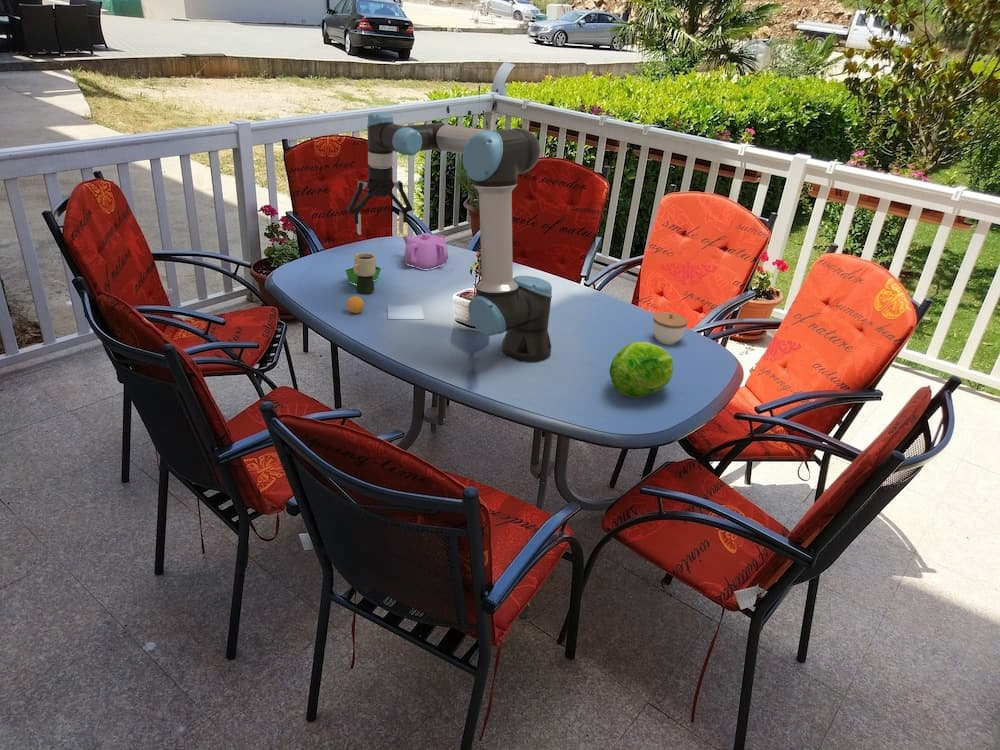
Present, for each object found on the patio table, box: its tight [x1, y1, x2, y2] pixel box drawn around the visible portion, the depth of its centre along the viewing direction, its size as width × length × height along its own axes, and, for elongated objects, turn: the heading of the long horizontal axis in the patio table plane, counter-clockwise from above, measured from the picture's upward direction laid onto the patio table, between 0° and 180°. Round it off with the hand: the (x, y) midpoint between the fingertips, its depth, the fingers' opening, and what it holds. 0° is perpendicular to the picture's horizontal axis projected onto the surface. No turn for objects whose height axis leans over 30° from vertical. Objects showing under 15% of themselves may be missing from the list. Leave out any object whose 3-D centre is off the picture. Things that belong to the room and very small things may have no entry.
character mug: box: [352, 252, 377, 294], centre depth 245 cm, size 11×7×13 cm, turn 147°
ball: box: [346, 295, 365, 314], centre depth 230 cm, size 6×6×6 cm
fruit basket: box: [345, 265, 382, 284], centre depth 253 cm, size 11×9×11 cm
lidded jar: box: [652, 311, 688, 346], centre depth 227 cm, size 11×11×9 cm
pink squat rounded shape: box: [402, 232, 449, 269], centre depth 275 cm, size 17×17×12 cm
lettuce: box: [609, 341, 674, 399], centre depth 194 cm, size 15×23×16 cm
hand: (380, 232), depth 227 cm, fingers open, 13 cm apart
